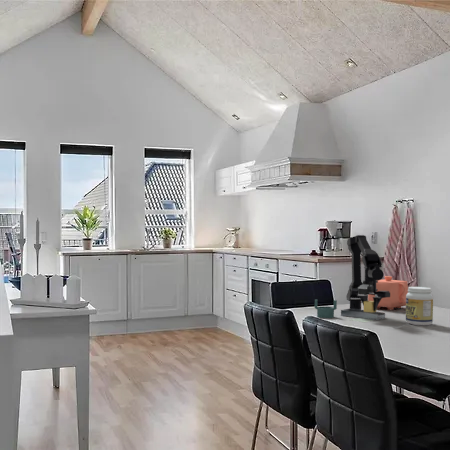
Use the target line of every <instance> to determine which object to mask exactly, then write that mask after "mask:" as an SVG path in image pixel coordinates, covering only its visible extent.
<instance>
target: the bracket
mask: <svg viewBox="0 0 450 450" xmlns="http://www.w3.org/2000/svg"><path fill="white" fill-rule="evenodd" d="M337 301H338V300H336V299H334V300H333V306H323V305H322V306H318V299H314V309H315V310H316V311H317V312H316V318H321V319H332V318H335V310H337V309H338V308H337V305H338V303H337Z"/></svg>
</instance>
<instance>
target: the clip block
mask: <svg viewBox="0 0 450 450" xmlns="http://www.w3.org/2000/svg"><path fill="white" fill-rule="evenodd" d="M373 306H374V301H364V306H363V310H364V312H371V313H372V312H377V309H376V310H375V311H374V309H373Z"/></svg>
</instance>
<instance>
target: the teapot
mask: <svg viewBox="0 0 450 450" xmlns="http://www.w3.org/2000/svg"><path fill="white" fill-rule="evenodd" d="M376 281H377V280H376ZM408 284H409V283H408V280H399V279H397V280H396V279H393V276H390V275H385V276H384V278H382V279H381V280H378V283H376V289H378V291H389V292H390V297H386V298H382V299H381V300H380V302H379V304H378V306H377V308H376V309H381V308H386V310H387V311H394V310H395V309H396V308H402V309H403V307H406V295H407V293H409V291H408V287H409V285H408ZM378 291H376V292H378ZM373 297H375V295H369V294H368V301H374V300H373ZM394 308H395V309H394Z"/></svg>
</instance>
